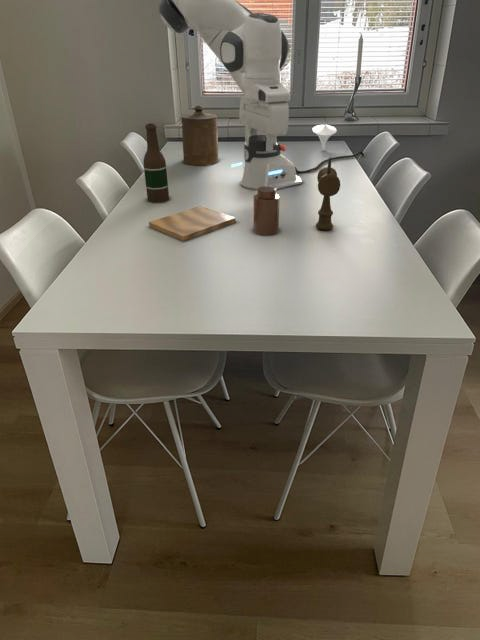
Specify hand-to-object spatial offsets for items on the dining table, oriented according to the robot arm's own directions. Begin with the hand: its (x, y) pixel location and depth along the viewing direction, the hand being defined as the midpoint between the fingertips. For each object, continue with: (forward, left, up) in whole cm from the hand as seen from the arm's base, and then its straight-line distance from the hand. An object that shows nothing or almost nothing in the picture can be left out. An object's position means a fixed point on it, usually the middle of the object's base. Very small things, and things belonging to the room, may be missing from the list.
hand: (261, 148), depth 129 cm
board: (+16, -13, -23) cm, 31 cm away
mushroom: (-70, -74, -23) cm, 104 cm away
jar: (-1, +1, -23) cm, 23 cm away
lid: (0, 0, +2) cm, 2 cm away
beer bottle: (+18, -41, -23) cm, 50 cm away
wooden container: (-14, -83, -23) cm, 87 cm away
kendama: (-17, +7, -23) cm, 30 cm away
